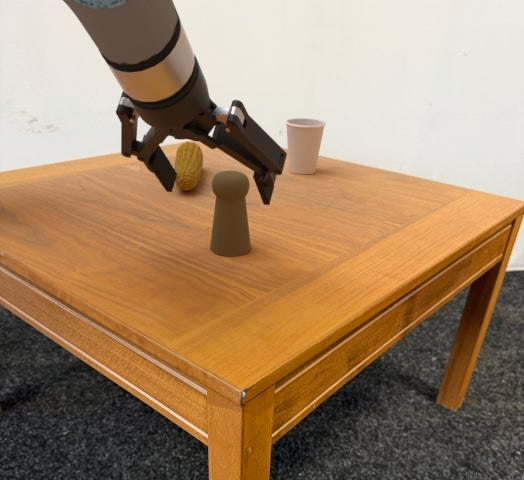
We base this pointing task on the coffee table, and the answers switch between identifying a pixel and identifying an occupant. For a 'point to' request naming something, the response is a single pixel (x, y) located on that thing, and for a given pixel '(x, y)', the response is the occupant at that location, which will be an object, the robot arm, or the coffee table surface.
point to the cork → (230, 214)
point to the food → (188, 165)
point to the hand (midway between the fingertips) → (219, 189)
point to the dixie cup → (304, 144)
